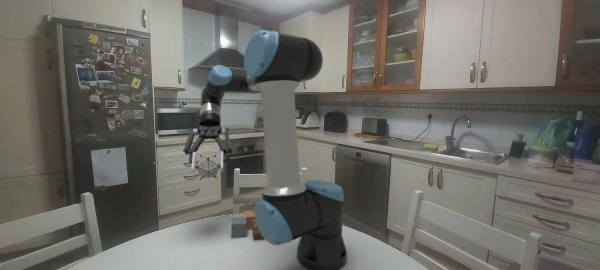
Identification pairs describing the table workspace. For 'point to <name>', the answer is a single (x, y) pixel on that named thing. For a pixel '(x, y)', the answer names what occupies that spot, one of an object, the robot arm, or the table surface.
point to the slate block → (238, 227)
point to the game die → (208, 166)
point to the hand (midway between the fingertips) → (207, 170)
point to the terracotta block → (249, 218)
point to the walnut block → (256, 232)
